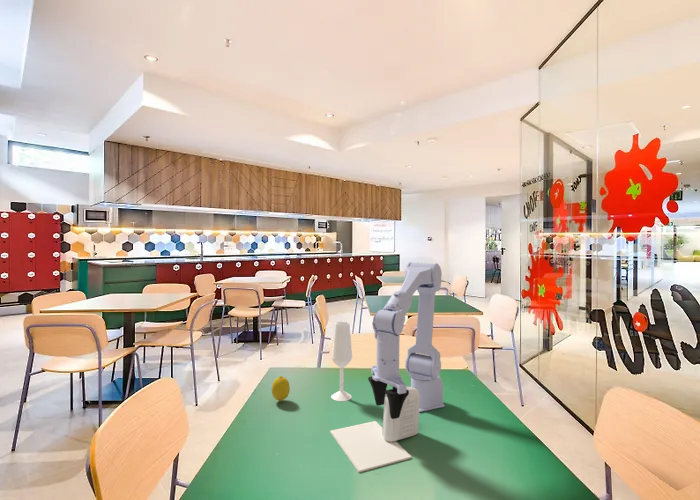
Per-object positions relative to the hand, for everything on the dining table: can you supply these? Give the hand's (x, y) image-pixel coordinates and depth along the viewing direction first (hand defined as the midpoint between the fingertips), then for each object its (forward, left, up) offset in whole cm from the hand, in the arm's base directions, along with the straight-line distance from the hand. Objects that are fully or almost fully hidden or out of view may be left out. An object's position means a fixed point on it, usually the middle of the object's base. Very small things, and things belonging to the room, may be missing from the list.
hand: (387, 410), depth 90 cm
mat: (+5, 0, -7) cm, 9 cm away
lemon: (+20, -32, -8) cm, 39 cm away
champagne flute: (+1, -28, -8) cm, 29 cm away
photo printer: (-4, 0, -7) cm, 8 cm away
